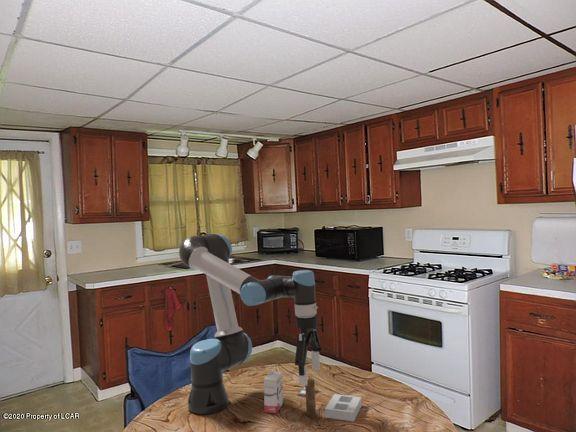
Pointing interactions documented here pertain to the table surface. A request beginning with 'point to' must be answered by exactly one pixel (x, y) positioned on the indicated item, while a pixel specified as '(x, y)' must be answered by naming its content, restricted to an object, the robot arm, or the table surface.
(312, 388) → the walnut peg
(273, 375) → the ink box
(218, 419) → the table surface
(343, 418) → the socket board
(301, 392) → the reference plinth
